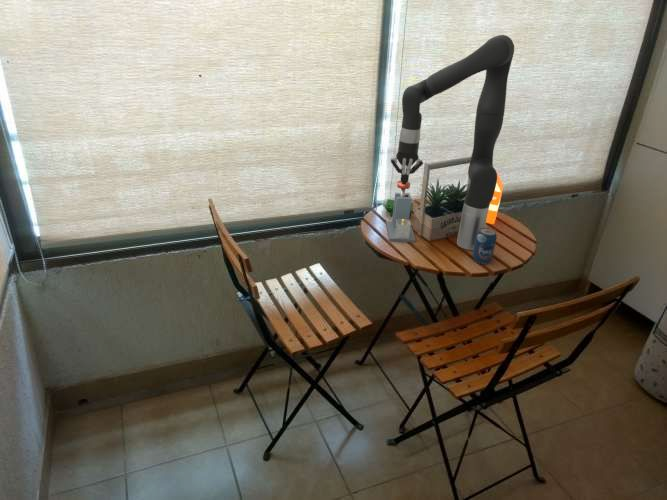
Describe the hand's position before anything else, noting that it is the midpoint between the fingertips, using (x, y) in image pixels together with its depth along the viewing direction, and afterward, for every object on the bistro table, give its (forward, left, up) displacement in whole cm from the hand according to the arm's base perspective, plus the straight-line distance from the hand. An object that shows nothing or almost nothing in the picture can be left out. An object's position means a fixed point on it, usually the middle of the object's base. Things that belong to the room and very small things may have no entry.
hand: (403, 182), depth 199 cm
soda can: (-28, +25, -20) cm, 42 cm away
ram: (0, 0, -14) cm, 14 cm away
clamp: (-1, -12, -20) cm, 23 cm away
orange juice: (-40, -13, -20) cm, 46 cm away
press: (0, +5, -19) cm, 20 cm away
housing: (0, +10, -18) cm, 21 cm away
